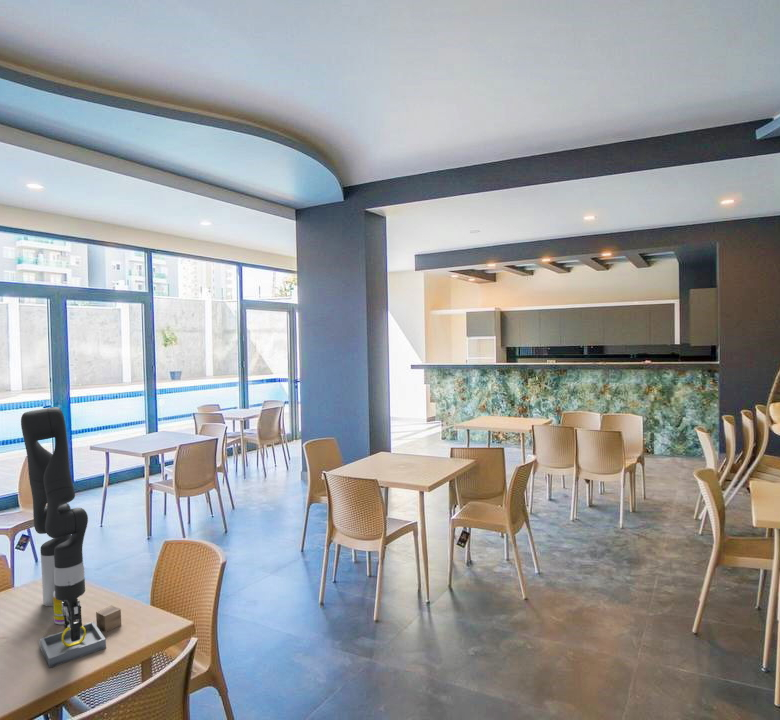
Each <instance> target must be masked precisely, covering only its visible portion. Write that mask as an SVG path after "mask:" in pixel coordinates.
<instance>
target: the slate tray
mask: <svg viewBox="0 0 780 720" xmlns="http://www.w3.org/2000/svg"><path fill="white" fill-rule="evenodd" d="M82 626H83V627H84V628H85V630H86V636H85V639H84V640H83V641H82V642H81V643H80V644H77V645H73V646H70V647H67V646H65V645H64V644H63V642H62V634H63V632H64V630H62V631H60V632H57V633H53V634H50V635H47V636H45V637H42V638H39V644H40V650H41V652H42V654H43V656H44V658H45V661H46V663H47V665H48V668H49V669H51V668H55V667H58V666H60V665H61V664H65V663H68V662H71V661H73V660H76V659H79V658H81V657H85V656H88V655H90V654H93V653H95V652H98V651H101V650H102V651H103V650H104V649H106V648H107V639H106V637H105V636H104V634H103V632H101V631H102V630H100V629H98V627H97V623H95V621H93V620H92V621H91V622H87V623H84V624H82ZM83 634H84V630H83V629H82V628H81V627H80V639H81V638H82V637H83ZM80 639H79V640H80ZM79 640H77V641H79ZM64 641H65V642H66V643H68V644H71V643H74V642H77V641H74V642H72V641H71V631H70V630H68V631H67V632H66V633H65V635H64Z"/></svg>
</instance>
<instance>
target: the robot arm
mask: <svg viewBox="0 0 780 720" xmlns="http://www.w3.org/2000/svg"><path fill="white" fill-rule="evenodd" d="M20 426H21V431H22V437H23V442H24V445H25V451H26V457H27V469H28V480H29V484H30V491H31V498H32V508H33V509H32V510H33V511H32V512H33V513H32V514H33V526H34V527H33V528H34V530H35V531H36V533H37V534H40V535H44V534H46V535H47V536H48V537H49V538H51V539H49V540H47V541H45V542H44V543H42V544H41V546H40V548H39V549H40V563H41V584H42V585H41V586H42V603H43V604H42V605H43V606H44V607H45V606H46V607H54V603H53V593H54V591H55V598H56V599H57V600H61V601H62V613H63V616H64V617H65V618H64V622H65V624H64V630H65V629H66V628H67V627H68V625H69V624H70V629H69V630H70V631H71V641H72V642H74V641H77V640H79V639H80V627H81V626H82V625H83V620H82V605H81V602H80V600H79V599H78V598H79V597H80V596H82V595H84V594H85V593H86V583H85V582H86V577H85V574H86V573H85V565H84V561H83V560H84V556H83V554H84V553H83V544H84V538H85V535H86V531H87V528H88V522H89V518H88V516H89V515H88V513H87V512H86V510H85V509H84V508H82V507H74V508H71V506H70V504H69V503H70V502H72V501H73V500H74V499H75V497H76V494H75V493H76V492H75V489H74V482H73V479H72V475H71V469H70V458H69V445H68V437H67V436H68V435H67V434H68V433H67V427H66V420H65V417H64V414H63V410H62V409H61V408H60V407H58V406H53V407H52V406H51V407H46V408H40V409H35V410H29V411H25V412H24V413H22V414H21V419H20ZM48 439H55V445H54V450H53V453H52V452H50V451H48V450H47V449H45V448H44V447H43V446H42V445H41V444H40V442H39V441H42V440H43V441H44V440H48ZM74 620H75V621H76V622H78V623H75V624H74V622H75V621H74Z"/></svg>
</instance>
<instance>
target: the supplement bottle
mask: <svg viewBox="0 0 780 720" xmlns="http://www.w3.org/2000/svg"><path fill="white" fill-rule="evenodd" d="M53 603H54V606H53V622H54V623H55V624H56V625H60V626H61V625H63V626H65V622H64V618H65V617H64V616H63V613H62V601H61V600H57V599H56V598H55V591H54V593H53ZM74 622H76V620H74Z"/></svg>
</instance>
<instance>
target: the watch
mask: <svg viewBox="0 0 780 720" xmlns="http://www.w3.org/2000/svg"><path fill="white" fill-rule="evenodd" d="M75 623H78V622H77V621H74V624H75ZM81 628H82V629H83V630H84V634H83V637H82V638H81V639H80V640H79V641H77V642H74V643H71V644H68V643H66V642H65V641H64V635H65V633H66V632H67V631H68V630H69V629H70V624H69V625H68V627H67V628H66V629H65V628H64V630H63V631H64V632H63V634H62V642H63V644H64V645H65V646H67V647H70V646H73V645H77V644H80V643H81V642H82V641H83V640H84V639H85V636H86V630H85V628H84V627H83V626H81Z"/></svg>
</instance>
